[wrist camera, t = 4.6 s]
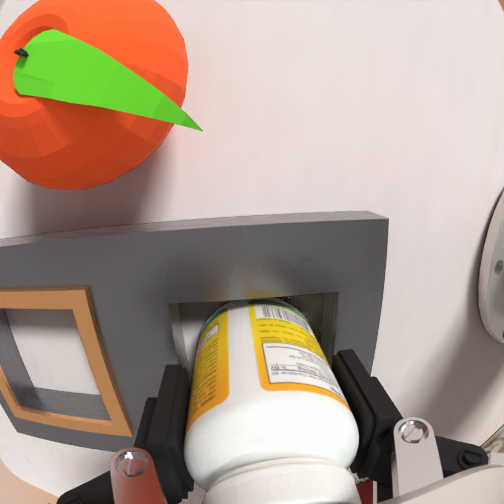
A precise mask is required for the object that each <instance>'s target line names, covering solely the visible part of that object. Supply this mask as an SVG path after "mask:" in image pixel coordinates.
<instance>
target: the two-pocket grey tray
mask: <svg viewBox="0 0 504 504" xmlns="http://www.w3.org/2000/svg"><path fill="white" fill-rule="evenodd" d="M388 224H389V219H388V218H386V217H383V216H380V215H377V214H374V213H372V212H369V211H347V212H318V213H294V214H273V215H254V216H237V217H221V218H206V219H192V220H179V221H166V222H154V223H143V224H131V225H121V226H110V227H100V228H90V229H81V230H72V231H63V232H54V233H45V234H37V235H29V236H21V237H13V238H6V239H0V404H1V405H2V407H3V409H4V411H5V412H6V414H7V416H8V418H9V419H10V421H11V423H12V424H13V426H14V427H15V429H16V431H17V432H19V433H23V434H26V435H30V436H34V437H38V438H42V439H46V440H50V441H54V442H59V443H64V444H69V445H74V446H79V447H85V448H91V449H98V450H105V451H112V452H118V451H120V450H122V449H125V448H131V447H134V443H135V439H136V436H137V432H138V428H139V424H140V421H141V417H142V414H143V410H144V406H145V403H146V400H147V398H148V397H158V393H159V389H160V385H161V381H162V377H163V373H164V370H165V366H166V365H168V364H181V366H182V368H187V372H188V377H189V382H190V387H191V385H192V382H191V377H190V372H189V367H188V361H187V356H186V350H185V344H184V338H183V332H182V326H181V320H180V313H179V307H178V303H195V302H213V301H229V300H244V299H257V298H270V297H283V296H294V295H305V294H316V293H323V312H322V330H321V345H320V348H321V350H322V352H323V354H324V356H325V358H326V360H327V362H328V364H329V366H330V368H331V366H332V358H333V355H337V352H338V351H339V350H346V349H353V350H354V352H355V353H356V355H357V356H358V358H359V359H360V361H361V362H362V364H363V366H364V367H365V369H366V370H367V372H368V373H369V375H371V370H372V365H373V360H374V354H375V348H376V342H377V336H378V329H379V322H380V315H381V307H382V299H383V290H384V280H385V270H386V258H387V243H388ZM3 308H14V309H73V313H74V317H75V320H76V324H77V327H78V331H79V334H80V337H81V341H82V344H83V347H84V350H85V353H86V356H87V359H88V362H89V365H90V368H91V371H92V373H93V376H94V379H95V381H96V384H97V387H98V389H99V392H100V394H101V395H91V394H81V393H72V392H64V391H56V390H49V389H43V388H37V387H34V386H33V384H32V382H31V380H30V378H29V375H28V373H27V371H26V368H25V366H24V364H23V361H22V359H21V356H20V354H19V351H18V349H17V346H16V344H15V341H14V338H13V336H12V333H11V330H10V327H9V324H8V321H7V318H6V315H5V312H4V309H3Z"/></svg>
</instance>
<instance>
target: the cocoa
mask: <svg viewBox="0 0 504 504" xmlns="http://www.w3.org/2000/svg"><path fill="white" fill-rule="evenodd" d="M356 488H357V491H358V493H359V496H360V499H361V502H362V504H373V481H372V480H369V481H364V482H361V483H359V484H356Z"/></svg>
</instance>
